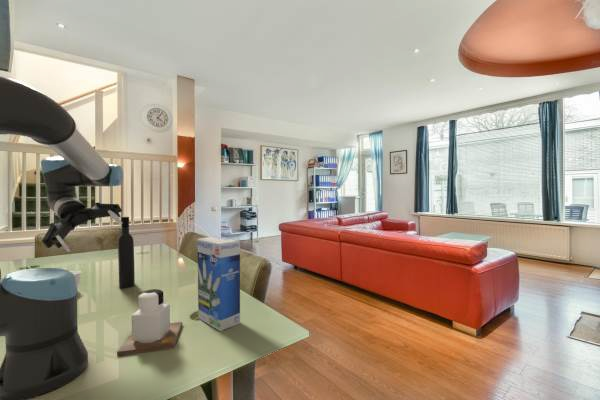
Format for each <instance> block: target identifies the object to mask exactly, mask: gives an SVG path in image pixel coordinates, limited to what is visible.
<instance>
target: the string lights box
mask: <svg viewBox="0 0 600 400" xmlns="http://www.w3.org/2000/svg"><path fill="white" fill-rule="evenodd" d="M197 298H198V299H197V301H198V302H197V305H198V306H197V307H198V308H197V310H198V311H197V312H198V315H197V316H198V319H199V320H201V321H203V322H204V323H206V324H208V325H209V326H210V327H213V328H214V329H216V331H219V332H222V331H225V330H227V329H230V328H232V327H235V326H237V325H240V323H241V241H240V240H234V239H231V238H227V237H220V236H217V235H216V236H209V237H200V238H197Z"/></svg>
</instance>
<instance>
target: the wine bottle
mask: <svg viewBox="0 0 600 400" xmlns="http://www.w3.org/2000/svg"><path fill="white" fill-rule="evenodd" d="M120 220H121V222H122V223H123V224H121V234H119V236H118V238H117V255H118V256H117V258H118V259H117V260H118V263H117V264H118V266H117V267H118V288H120V289H125V288H131V287H134V286H136V285H135V284H136V283H135V279H136V278H135V277H136V276H135V275H136V274H135V244H134V237H133V235H132V234H131V233H130V217H129V216H122V217H121V216H120Z"/></svg>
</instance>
